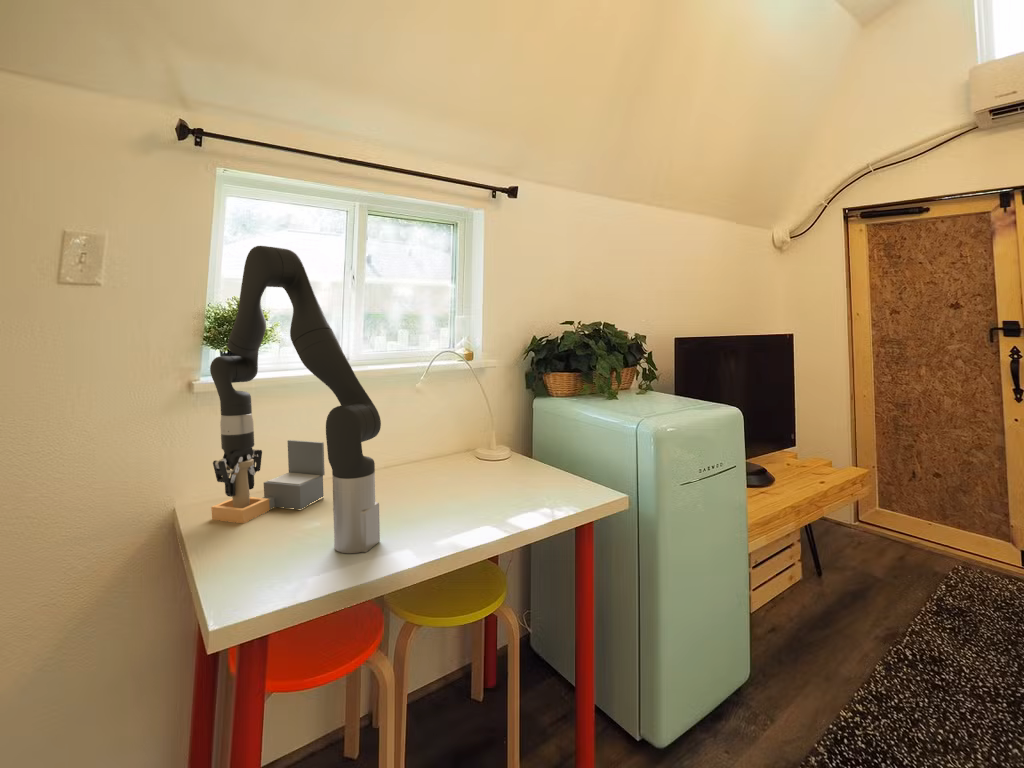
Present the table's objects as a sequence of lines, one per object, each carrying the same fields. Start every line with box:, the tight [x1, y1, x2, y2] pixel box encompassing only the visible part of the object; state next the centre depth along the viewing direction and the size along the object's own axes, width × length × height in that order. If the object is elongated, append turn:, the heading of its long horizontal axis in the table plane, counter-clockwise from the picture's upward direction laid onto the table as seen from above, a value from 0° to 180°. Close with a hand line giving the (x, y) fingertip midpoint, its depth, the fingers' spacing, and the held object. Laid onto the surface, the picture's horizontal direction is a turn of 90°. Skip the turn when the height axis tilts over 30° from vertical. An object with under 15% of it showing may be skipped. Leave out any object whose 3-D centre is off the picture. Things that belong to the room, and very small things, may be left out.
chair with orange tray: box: [210, 439, 325, 524], centre depth 126 cm, size 18×22×17 cm
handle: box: [226, 459, 254, 508], centre depth 121 cm, size 5×6×15 cm
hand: (240, 492), depth 121 cm, fingers open, 5 cm apart
